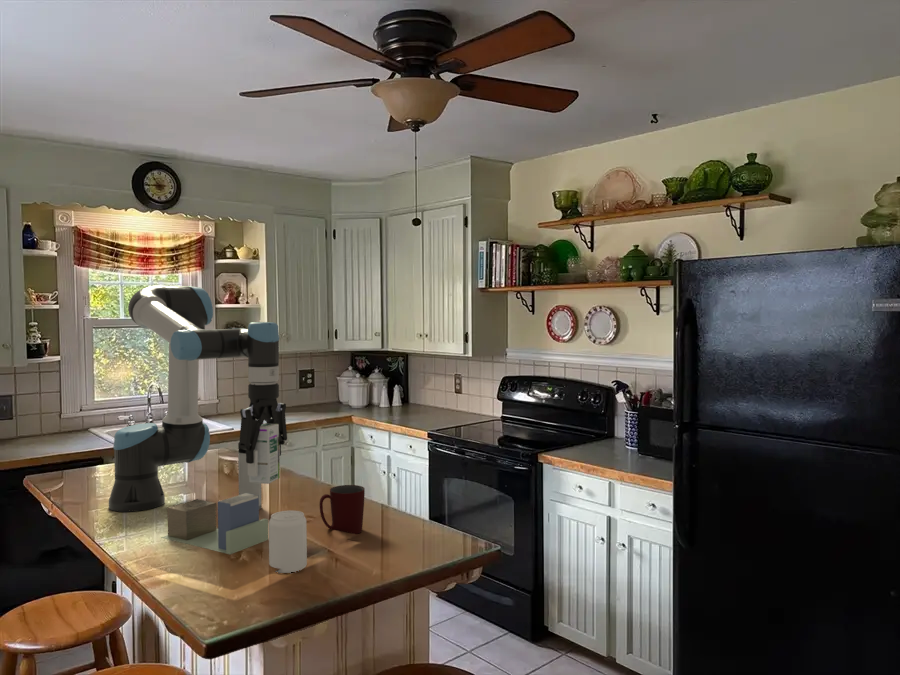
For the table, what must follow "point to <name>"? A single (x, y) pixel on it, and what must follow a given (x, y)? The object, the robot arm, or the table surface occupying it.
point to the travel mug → (246, 477)
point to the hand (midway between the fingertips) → (263, 472)
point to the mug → (345, 508)
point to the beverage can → (288, 541)
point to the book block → (236, 514)
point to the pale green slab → (231, 537)
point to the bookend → (191, 519)
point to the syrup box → (267, 454)
